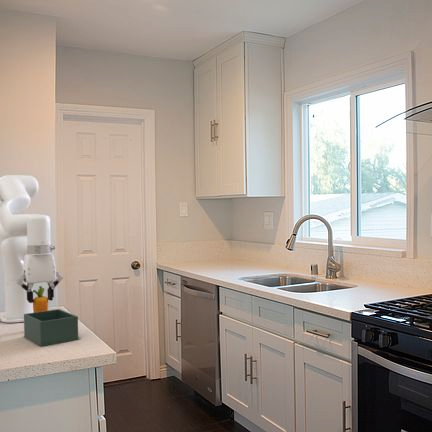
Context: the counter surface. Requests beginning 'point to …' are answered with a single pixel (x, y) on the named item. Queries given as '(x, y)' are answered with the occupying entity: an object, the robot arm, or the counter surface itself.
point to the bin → (50, 327)
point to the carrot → (40, 301)
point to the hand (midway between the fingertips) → (40, 300)
